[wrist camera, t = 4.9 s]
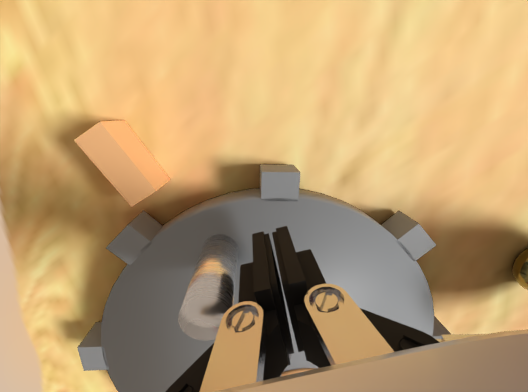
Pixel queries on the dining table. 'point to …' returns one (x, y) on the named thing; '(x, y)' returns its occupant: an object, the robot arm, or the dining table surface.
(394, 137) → the dining table surface
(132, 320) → the index wheel
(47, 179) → the dining table surface
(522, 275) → the cup
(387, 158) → the dining table surface
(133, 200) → the peach rectangular brick
